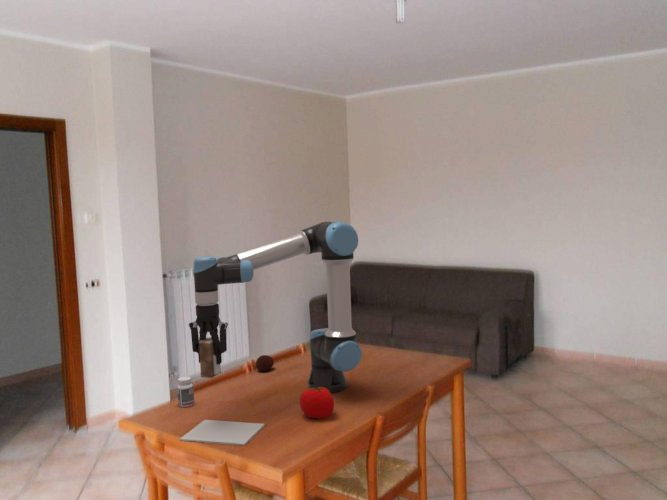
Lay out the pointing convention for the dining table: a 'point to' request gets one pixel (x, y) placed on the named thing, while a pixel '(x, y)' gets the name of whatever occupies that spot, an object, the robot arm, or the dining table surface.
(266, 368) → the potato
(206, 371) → the slab
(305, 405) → the tomato
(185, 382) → the pill bottle
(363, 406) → the dining table surface
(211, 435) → the mat
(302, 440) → the dining table surface
